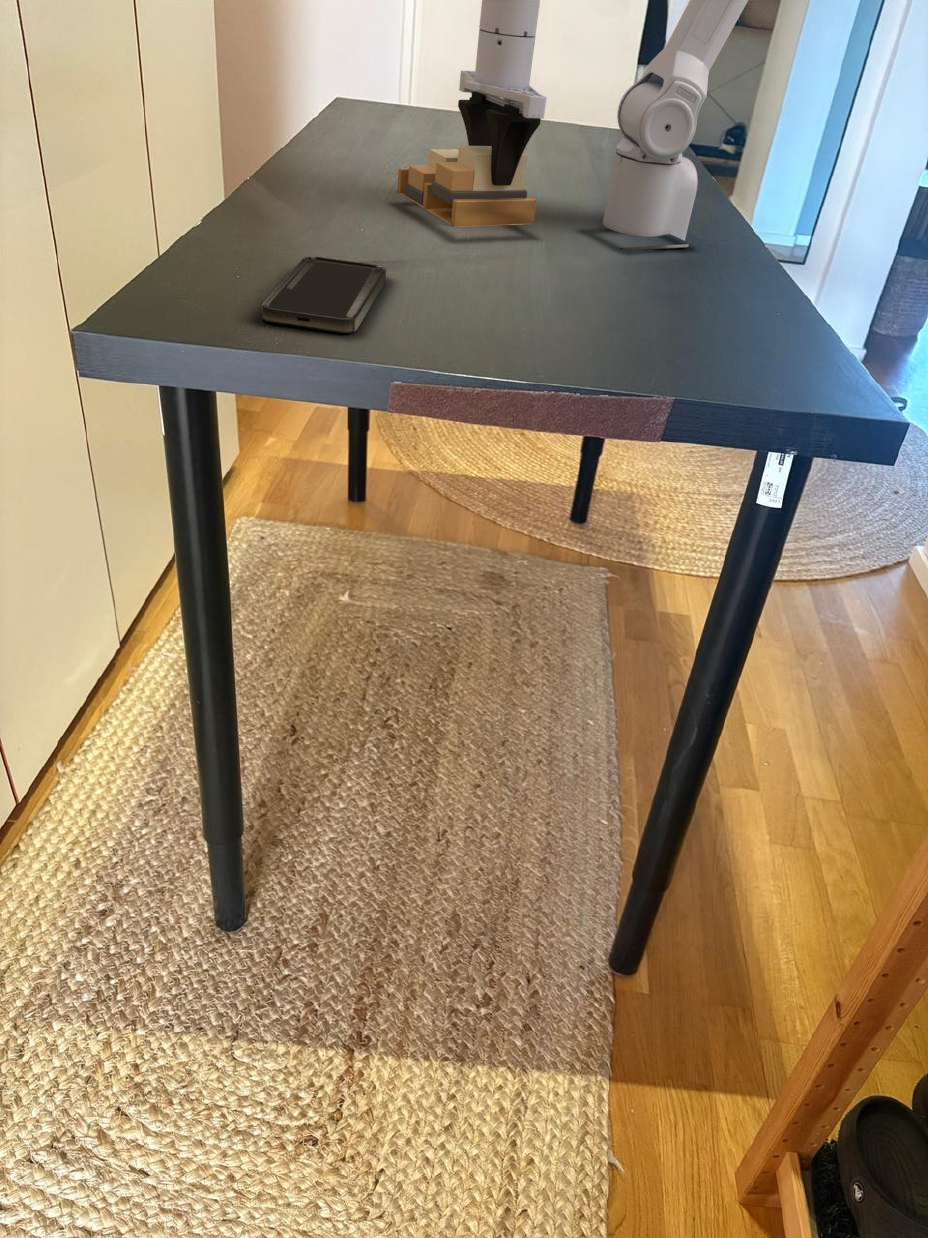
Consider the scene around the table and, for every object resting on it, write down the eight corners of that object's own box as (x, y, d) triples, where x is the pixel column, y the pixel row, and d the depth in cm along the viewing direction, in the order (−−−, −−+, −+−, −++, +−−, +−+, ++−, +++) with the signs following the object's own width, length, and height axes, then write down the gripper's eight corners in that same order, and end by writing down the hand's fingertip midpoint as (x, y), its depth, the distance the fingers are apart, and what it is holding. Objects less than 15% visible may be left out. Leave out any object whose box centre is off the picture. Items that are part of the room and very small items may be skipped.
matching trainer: (476, 192, 110) (481, 148, 107) (494, 202, 107) (499, 157, 104) (404, 194, 106) (406, 148, 103) (421, 204, 103) (424, 157, 100)
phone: (388, 266, 85) (354, 320, 73) (387, 279, 85) (353, 334, 74) (304, 254, 85) (257, 306, 73) (304, 267, 86) (257, 320, 74)
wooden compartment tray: (470, 202, 112) (474, 167, 110) (531, 237, 102) (536, 199, 100) (396, 204, 108) (398, 167, 105) (452, 240, 98) (456, 201, 96)
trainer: (506, 191, 104) (511, 145, 101) (525, 202, 101) (532, 154, 98) (430, 193, 100) (434, 144, 97) (449, 204, 97) (453, 154, 94)
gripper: (439, 20, 95) (428, 162, 103) (509, 41, 85) (491, 197, 94) (497, 24, 98) (483, 162, 106) (572, 45, 88) (549, 196, 97)
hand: (490, 179), depth 100 cm, fingers closed on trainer, 4 cm apart
